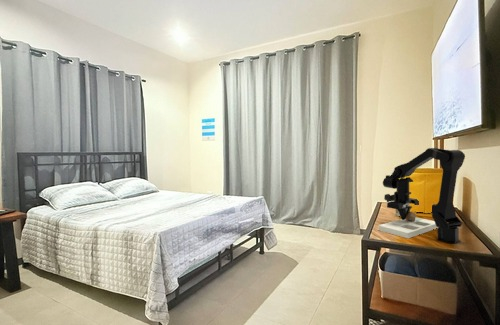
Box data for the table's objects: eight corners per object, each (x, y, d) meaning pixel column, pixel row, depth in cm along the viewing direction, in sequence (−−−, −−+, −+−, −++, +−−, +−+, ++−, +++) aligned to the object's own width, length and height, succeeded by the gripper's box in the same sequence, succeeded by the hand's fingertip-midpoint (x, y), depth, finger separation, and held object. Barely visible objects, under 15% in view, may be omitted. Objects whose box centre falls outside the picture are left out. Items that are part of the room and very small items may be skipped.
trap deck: (440, 227, 128) (440, 222, 128) (408, 238, 115) (408, 233, 115) (410, 220, 141) (410, 216, 141) (378, 230, 127) (378, 225, 127)
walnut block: (414, 221, 131) (416, 214, 131) (409, 219, 129) (412, 211, 130) (406, 220, 134) (408, 213, 135) (402, 217, 133) (404, 210, 133)
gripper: (397, 186, 142) (398, 213, 143) (377, 190, 133) (377, 219, 134) (419, 188, 133) (419, 218, 133) (398, 192, 124) (398, 224, 124)
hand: (403, 219), depth 132 cm, fingers closed
